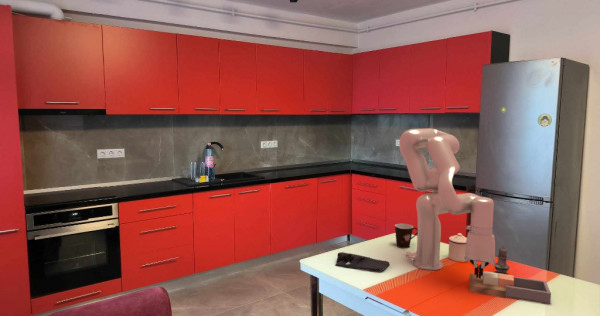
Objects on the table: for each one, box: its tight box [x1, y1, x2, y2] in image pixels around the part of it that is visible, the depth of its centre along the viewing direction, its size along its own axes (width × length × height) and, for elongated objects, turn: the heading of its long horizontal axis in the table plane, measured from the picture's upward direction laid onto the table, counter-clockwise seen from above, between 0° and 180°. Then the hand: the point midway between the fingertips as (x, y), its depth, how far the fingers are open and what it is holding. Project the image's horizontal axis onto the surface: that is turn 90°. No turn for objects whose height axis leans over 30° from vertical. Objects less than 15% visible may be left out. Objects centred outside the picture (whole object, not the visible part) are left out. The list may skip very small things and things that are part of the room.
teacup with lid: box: [448, 232, 467, 263], centre depth 186 cm, size 12×9×12 cm
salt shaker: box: [493, 245, 511, 275], centre depth 168 cm, size 6×6×12 cm
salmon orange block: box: [498, 273, 514, 287], centre depth 153 cm, size 5×5×3 cm
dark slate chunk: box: [335, 251, 390, 272], centre depth 178 cm, size 15×22×5 cm
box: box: [505, 276, 552, 305], centre depth 150 cm, size 14×11×4 cm
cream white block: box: [483, 270, 499, 286], centre depth 155 cm, size 5×5×3 cm
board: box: [469, 273, 507, 298], centre depth 155 cm, size 12×12×2 cm
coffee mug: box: [394, 223, 418, 249], centre depth 201 cm, size 12×9×10 cm
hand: (478, 276), depth 156 cm, fingers closed
